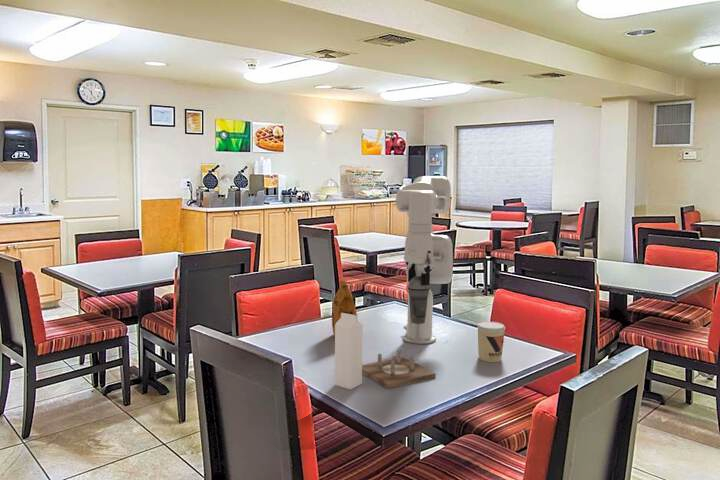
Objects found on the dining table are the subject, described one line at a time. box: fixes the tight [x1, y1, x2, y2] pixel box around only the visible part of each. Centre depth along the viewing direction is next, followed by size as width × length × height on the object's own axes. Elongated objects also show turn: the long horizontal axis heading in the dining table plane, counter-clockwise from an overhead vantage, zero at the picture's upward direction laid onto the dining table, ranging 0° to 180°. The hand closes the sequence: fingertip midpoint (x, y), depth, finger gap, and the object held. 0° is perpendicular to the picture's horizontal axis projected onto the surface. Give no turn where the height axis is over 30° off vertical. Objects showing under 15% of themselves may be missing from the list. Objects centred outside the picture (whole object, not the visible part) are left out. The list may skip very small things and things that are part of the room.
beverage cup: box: [407, 264, 431, 324], centre depth 188 cm, size 7×7×20 cm
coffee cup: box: [476, 321, 506, 363], centre depth 197 cm, size 9×9×12 cm
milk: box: [334, 313, 363, 390], centre depth 172 cm, size 6×6×22 cm
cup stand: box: [362, 349, 437, 390], centre depth 182 cm, size 18×18×6 cm
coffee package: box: [331, 279, 359, 337], centre depth 219 cm, size 10×12×22 cm
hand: (418, 282), depth 188 cm, fingers closed on beverage cup, 6 cm apart
